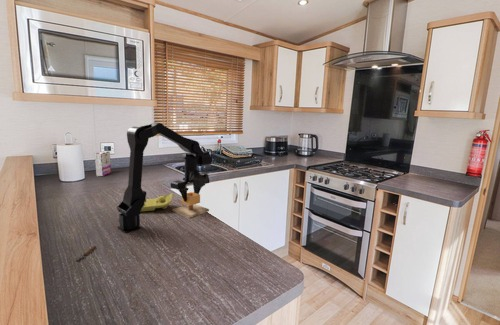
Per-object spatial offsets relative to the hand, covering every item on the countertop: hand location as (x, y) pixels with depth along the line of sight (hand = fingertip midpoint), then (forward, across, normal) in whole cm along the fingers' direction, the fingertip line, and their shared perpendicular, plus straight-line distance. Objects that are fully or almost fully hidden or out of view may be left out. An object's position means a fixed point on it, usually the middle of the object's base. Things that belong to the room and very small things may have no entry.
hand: (190, 200), depth 125 cm
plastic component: (+6, -11, +16) cm, 20 cm away
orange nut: (+1, 0, 0) cm, 1 cm away
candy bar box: (+6, +4, +100) cm, 100 cm away
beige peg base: (+6, 0, 0) cm, 6 cm away
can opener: (+6, -48, -7) cm, 49 cm away
